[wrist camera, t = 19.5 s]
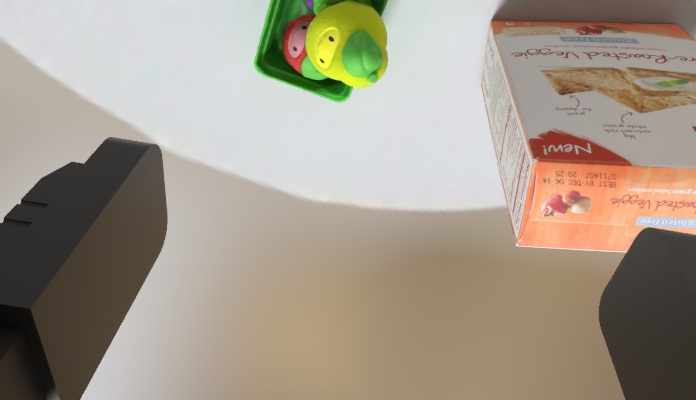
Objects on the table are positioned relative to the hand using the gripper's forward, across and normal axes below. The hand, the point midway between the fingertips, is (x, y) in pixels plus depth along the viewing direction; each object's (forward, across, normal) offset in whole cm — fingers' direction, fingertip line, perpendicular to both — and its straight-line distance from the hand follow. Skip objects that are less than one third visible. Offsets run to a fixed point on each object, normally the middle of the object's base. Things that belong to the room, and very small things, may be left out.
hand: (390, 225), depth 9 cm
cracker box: (+36, -15, +9) cm, 40 cm away
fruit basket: (+36, +4, +8) cm, 37 cm away
